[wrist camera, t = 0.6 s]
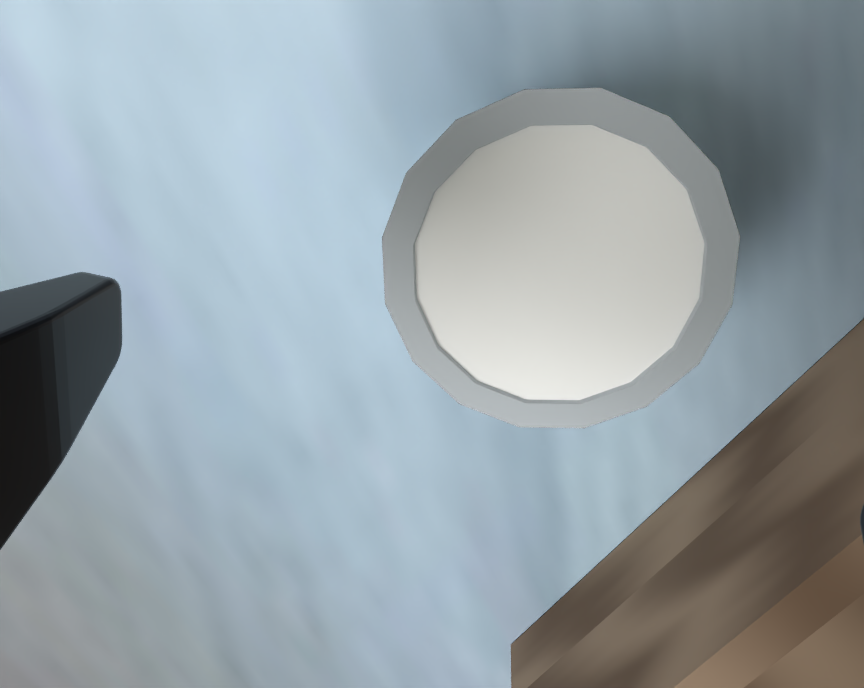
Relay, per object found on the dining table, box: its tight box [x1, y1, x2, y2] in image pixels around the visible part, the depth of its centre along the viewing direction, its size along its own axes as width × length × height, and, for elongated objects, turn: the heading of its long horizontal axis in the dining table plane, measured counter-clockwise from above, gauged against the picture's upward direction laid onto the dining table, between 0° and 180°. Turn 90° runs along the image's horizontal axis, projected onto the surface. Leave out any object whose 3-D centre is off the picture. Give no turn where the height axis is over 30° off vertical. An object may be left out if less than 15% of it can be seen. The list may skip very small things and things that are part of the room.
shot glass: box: [382, 88, 740, 428], centre depth 19 cm, size 7×7×7 cm
